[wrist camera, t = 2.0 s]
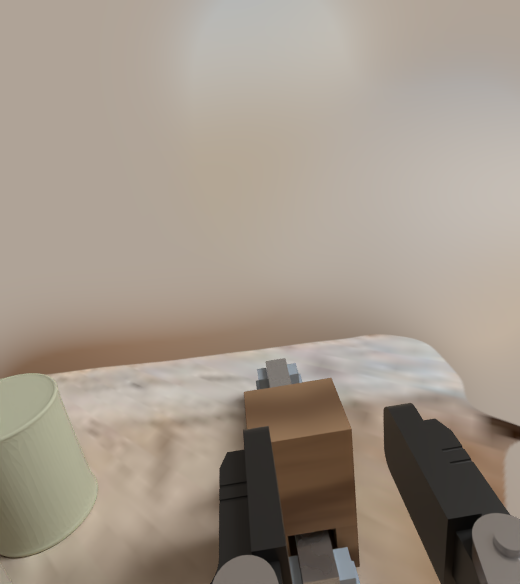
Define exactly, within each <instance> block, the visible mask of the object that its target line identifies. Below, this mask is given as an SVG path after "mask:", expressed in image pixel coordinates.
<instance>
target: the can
mask: <svg viewBox="0 0 520 584" xmlns="http://www.w3.org/2000/svg"><path fill="white" fill-rule="evenodd" d="M97 492H98V486H97V481H96V478H95V476H94V475H93V474H92V472H91V471H90V468H89V466H88V464H87V462H86V459H85V457H84V455H83V452H82V450H81V447H80V445H79V442H78V440H77V437H76V435H75V432H74V430H73V427H72V425H71V422H70V420H69V417H68V415H67V412H66V410H65V407H64V404H63V402H62V399H61V397H60V394H59V391H58V386H57V384H56V382H55V381H54V379H52V378H51V377H49V376H47V375H43V374H35V373H32V374H21V375H16V376H11V377H7V378H3V379H0V555H3V556H6V557H25V556H30V555H33V554H37V553H39V552H42V551H44V550H46V549H49V548H50V547H52V546H54V545H56V544H57V543H59V542H61V541H62V540H63V539H65V538H66V537H67V536H69V535H70V534H71V533H72V532H73V531H75V530H76V529H77V528H78V527H79V526H80V525H81V523H82V522H83V521H84V520H85V518H86V517H87V516H88V514H89V513H90V511H91V509H92V508H93V505H94V503H95V501H96V497H97Z"/></svg>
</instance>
